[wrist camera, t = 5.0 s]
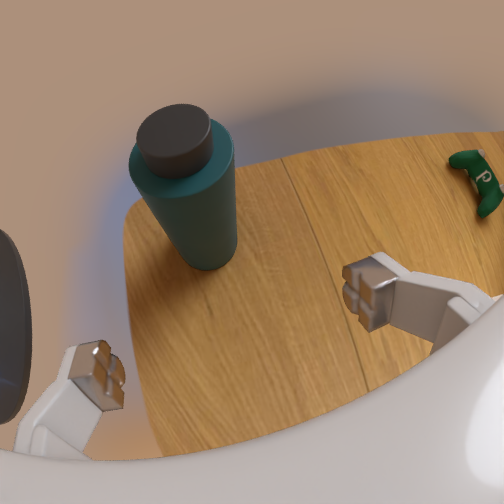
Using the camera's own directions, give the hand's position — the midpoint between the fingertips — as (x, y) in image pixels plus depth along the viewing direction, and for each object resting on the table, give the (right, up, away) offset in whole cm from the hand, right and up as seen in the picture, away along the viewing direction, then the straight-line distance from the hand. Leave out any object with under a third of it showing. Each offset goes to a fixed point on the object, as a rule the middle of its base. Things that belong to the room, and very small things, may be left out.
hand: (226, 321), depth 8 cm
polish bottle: (-3, +3, +15) cm, 15 cm away
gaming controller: (+31, +11, +19) cm, 38 cm away
